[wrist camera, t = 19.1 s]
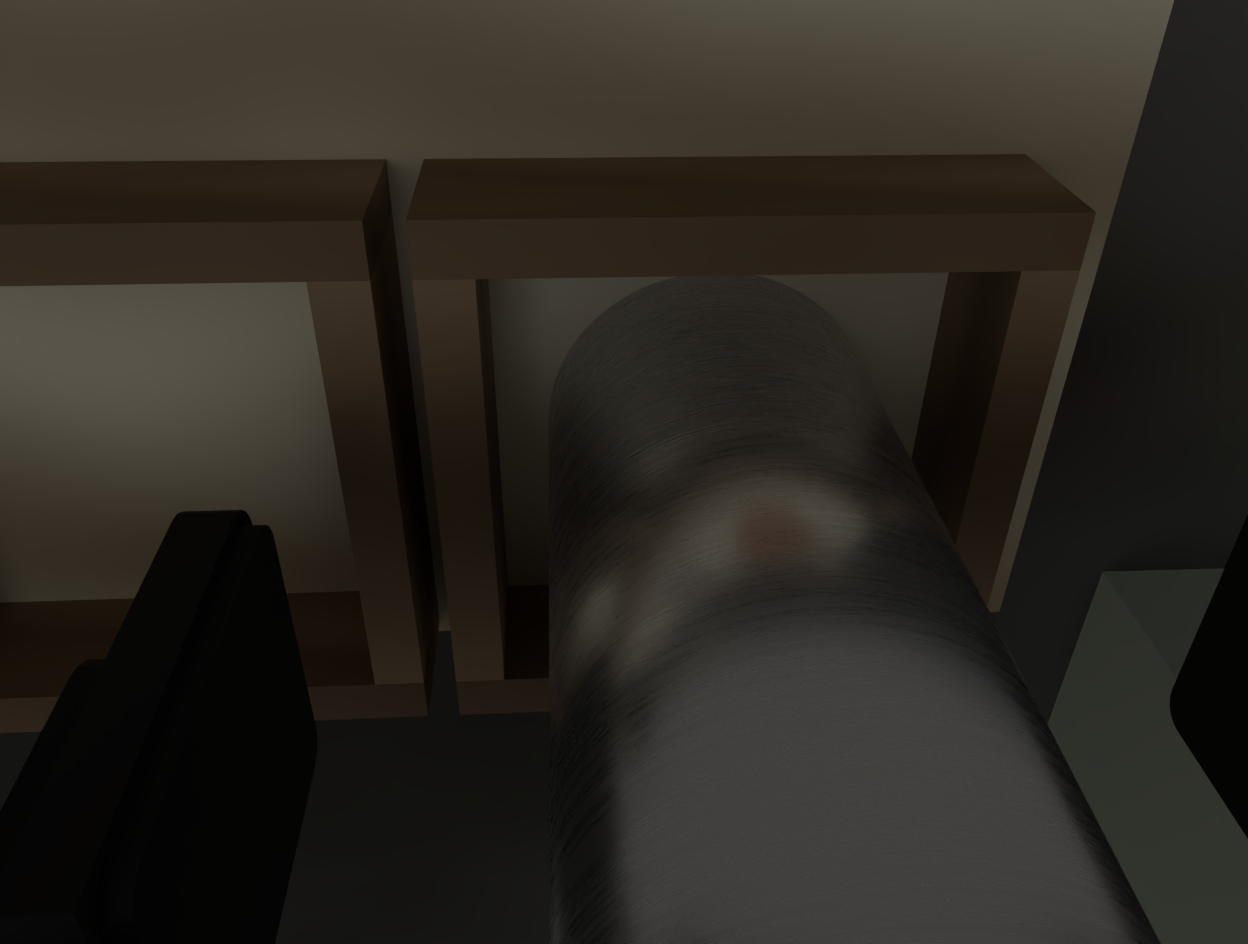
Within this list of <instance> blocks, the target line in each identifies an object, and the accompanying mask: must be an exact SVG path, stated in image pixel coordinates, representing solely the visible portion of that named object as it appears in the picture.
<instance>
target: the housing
mask: <svg viewBox="0 0 1248 944" xmlns="http://www.w3.org/2000/svg"><path fill="white" fill-rule="evenodd" d="M1223 571H1224V569H1185V570H1146V571H1107V572H1102V574H1101V577H1100V580H1099V583H1098V585H1097V588H1096V591H1095V594H1094V596H1093V599H1092V602H1091V605H1090V608H1089V610H1088V613H1087V616H1086V619H1085V621H1084V624H1083V627H1082V630H1081V633H1080V635H1079V638H1078V641H1077V644H1076V646H1075V649H1074V652H1073V655H1072V657H1071V660H1070V663H1069V666H1068V669H1067V671H1066V674H1065V677H1064V680H1063V682H1062V685H1061V688H1060V691H1059V694H1058V696H1057V699H1056V702H1055V705H1054V707H1053V710H1052V713H1051V716H1050V719H1049V721H1048V726H1049V728H1050V730H1051V732H1052V734H1053V736H1054V738H1055V740H1056V742H1057V744H1058V746H1059V748H1060V750H1061V751H1062V753H1063V755H1064V757H1065V759H1066V761H1067V763H1068V765H1069V767H1070V769H1071V771H1072V773H1073V775H1074V777H1075V779H1076V781H1077V782H1078V784H1079V786H1080V788H1081V790H1082V792H1083V794H1084V796H1085V798H1086V800H1087V802H1088V804H1089V806H1090V808H1091V810H1092V812H1093V813H1094V815H1095V817H1096V819H1097V821H1098V823H1099V825H1100V827H1101V829H1102V831H1103V833H1104V835H1105V837H1106V839H1107V841H1108V843H1109V844H1110V846H1111V848H1112V850H1113V852H1114V854H1115V856H1116V858H1117V860H1118V862H1119V864H1120V866H1121V868H1122V870H1123V872H1124V874H1125V875H1126V877H1127V879H1128V881H1129V883H1130V885H1131V887H1132V889H1133V891H1134V893H1135V895H1136V897H1137V899H1138V901H1139V903H1140V905H1141V906H1142V908H1143V910H1144V912H1145V914H1146V916H1147V918H1148V920H1149V922H1150V924H1151V926H1152V928H1153V930H1154V932H1155V934H1156V936H1157V937H1158V939H1159V941H1160V943H1161V944H1248V839H1247V837H1246V835H1245V834H1244V832H1243V831H1242V829H1241V828H1240V826H1239V825H1238V823H1237V822H1236V820H1235V819H1234V817H1233V816H1232V814H1231V812H1230V811H1229V809H1228V808H1227V806H1226V805H1225V803H1224V802H1223V800H1222V799H1221V797H1220V796H1219V794H1218V793H1217V791H1216V789H1215V788H1214V786H1213V785H1212V783H1211V782H1210V780H1209V779H1208V777H1207V776H1206V774H1205V773H1204V771H1203V770H1202V768H1201V766H1200V765H1199V763H1198V762H1197V760H1196V759H1195V757H1194V756H1193V754H1192V753H1191V751H1190V750H1189V748H1188V747H1187V745H1186V743H1185V742H1184V740H1183V739H1182V737H1181V736H1180V734H1179V733H1178V731H1177V729H1176V727H1175V725H1174V723H1173V720H1172V717H1171V713H1170V695H1171V691H1172V688H1173V686H1174V684H1175V681H1176V679H1177V677H1178V675H1179V672H1180V670H1181V668H1182V665H1183V663H1184V661H1185V658H1186V656H1187V654H1188V651H1189V649H1190V647H1191V645H1192V642H1193V640H1194V638H1195V635H1196V633H1197V631H1198V628H1199V626H1200V624H1201V621H1202V619H1203V617H1204V615H1205V612H1206V610H1207V608H1208V605H1209V603H1210V601H1211V598H1212V596H1213V594H1214V591H1215V589H1216V587H1217V585H1218V582H1219V580H1220V578H1221V575H1222V573H1223Z"/></svg>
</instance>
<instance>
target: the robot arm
mask: <svg viewBox="0 0 1248 944" xmlns="http://www.w3.org/2000/svg"><path fill="white" fill-rule="evenodd" d="M1170 713H1171V717H1172V720H1173V723H1174V725H1175V727H1176V729H1177V731H1178V733H1179V734H1180V736H1181V737H1182V739H1183V740H1184V742H1185V743H1186V745H1187V747H1188V748H1189V750H1190V751H1191V753H1192V754H1193V756H1194V757H1195V759H1196V760H1197V762H1198V763H1199V765H1200V766H1201V768H1202V770H1203V771H1204V773H1205V774H1206V776H1207V777H1208V779H1209V780H1210V782H1211V783H1212V785H1213V786H1214V788H1215V789H1216V791H1217V793H1218V794H1219V796H1220V797H1221V799H1222V800H1223V802H1224V803H1225V805H1226V806H1227V808H1228V809H1229V811H1230V812H1231V814H1232V816H1233V817H1234V819H1235V820H1236V822H1237V823H1238V825H1239V826H1240V828H1241V829H1242V831H1243V832H1244V834H1245V835H1246V837H1247V839H1248V515H1247V518H1246V520H1245V522H1244V525H1243V527H1242V529H1241V531H1240V534H1239V536H1238V538H1237V541H1236V543H1235V545H1234V548H1233V550H1232V552H1231V555H1230V557H1229V559H1228V561H1227V564H1226V566H1225V568H1224V571H1223V573H1222V575H1221V578H1220V580H1219V582H1218V585H1217V587H1216V589H1215V591H1214V594H1213V596H1212V598H1211V601H1210V603H1209V605H1208V608H1207V610H1206V612H1205V615H1204V617H1203V619H1202V621H1201V624H1200V626H1199V628H1198V631H1197V633H1196V635H1195V638H1194V640H1193V642H1192V645H1191V647H1190V649H1189V651H1188V654H1187V656H1186V658H1185V661H1184V663H1183V665H1182V668H1181V670H1180V672H1179V675H1178V677H1177V679H1176V681H1175V684H1174V686H1173V688H1172V691H1171V695H1170ZM316 754H317V731H316V724H315V720H314V715H313V711H312V706H311V702H310V697H309V693H308V688H307V684H306V679H305V675H304V670H303V666H302V661H301V657H300V652H299V648H298V643H297V639H296V634H295V630H294V625H293V621H292V616H291V612H290V607H289V603H288V598H287V594H286V589H285V585H284V580H283V576H282V571H281V567H280V562H279V558H278V553H277V549H276V544H275V540H274V536H273V533H272V530H271V529H270V527H269V526H267V525H252V521H251V518H250V517H249V515H248V513H247V512H246V511H244V510H214V511H182V512H180V513H178V514H176V516H175V517H174V519H173V520H172V522H171V524H170V526H169V528H168V530H167V532H166V534H165V536H164V539H163V541H162V543H161V545H160V547H159V549H158V551H157V553H156V555H155V557H154V559H153V561H152V563H151V565H150V567H149V569H148V571H147V574H146V576H145V578H144V580H143V582H142V584H141V586H140V588H139V590H138V592H137V594H136V596H135V598H134V600H133V602H132V604H131V606H130V609H129V611H128V613H127V615H126V617H125V619H124V621H123V623H122V625H121V627H120V629H119V631H118V633H117V635H116V637H115V639H114V641H113V644H112V646H111V648H110V650H109V652H108V654H107V656H106V658H105V659H88V660H86V661H85V662H83V663H82V664H80V665H79V666H77V668H76V669H75V671H74V672H73V674H72V675H71V677H70V678H69V679H68V681H67V683H66V685H65V687H64V689H63V691H62V693H61V695H60V697H59V698H58V700H57V702H56V704H55V706H54V708H53V710H52V712H51V714H50V716H49V718H48V720H47V722H46V724H45V726H44V728H43V730H42V731H41V733H40V735H39V737H38V739H37V741H36V743H35V745H34V747H33V749H32V751H31V753H30V755H29V757H28V759H27V761H26V763H25V765H24V766H23V768H22V770H21V772H20V774H19V776H18V778H17V780H16V782H15V784H14V786H13V788H12V790H11V792H10V794H9V796H8V798H7V799H6V801H5V803H4V805H3V807H2V809H1V811H0V944H275V940H276V936H277V932H278V927H279V923H280V918H281V914H282V909H283V905H284V901H285V896H286V892H287V887H288V883H289V879H290V874H291V870H292V865H293V861H294V856H295V852H296V848H297V843H298V839H299V834H300V830H301V825H302V821H303V817H304V812H305V808H306V803H307V799H308V794H309V790H310V786H311V781H312V777H313V772H314V768H315V762H316Z"/></svg>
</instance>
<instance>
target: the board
mask: <svg viewBox="0 0 1248 944" xmlns="http://www.w3.org/2000/svg"><path fill="white" fill-rule="evenodd" d="M1173 2H1174V0H0V733H17V732H41V731H42V730H43V728H44V726H45V724H46V722H47V720H48V718H49V716H50V714H51V712H52V710H53V708H54V706H55V704H56V702H57V700H58V698H59V697H60V695H61V693H62V691H63V689H64V687H65V685H66V683H67V681H68V679H69V678H70V677H71V675H72V674H73V672H74V671H75V669H76V668H77V666H79V665H80V664H82V663H83V662H85V661H86V660H88V659H105V658H106V656H107V654H108V652H109V650H110V648H111V646H112V644H113V641H114V639H115V637H116V635H117V633H118V631H119V629H120V627H121V625H122V623H123V621H124V619H125V617H126V615H127V613H128V611H129V609H130V606H131V604H132V602H133V600H134V598H135V596H136V594H137V592H138V590H139V588H140V586H141V584H142V582H143V580H144V578H145V576H146V574H147V571H148V569H149V567H150V565H151V563H152V561H153V559H154V557H155V555H156V553H157V551H158V549H159V547H160V545H161V543H162V541H163V539H164V536H165V534H166V532H167V530H168V528H169V526H170V524H171V522H172V520H173V519H174V517H175V516H176V514H178V513H180V512H182V511H214V510H244V511H246V512H247V513H248V515H249V517H250V518H251V521H252V525H267V526H269V527H270V529H271V530H272V533H273V536H274V540H275V544H276V549H277V553H278V558H279V562H280V567H281V571H282V576H283V580H284V585H285V589H286V594H287V598H288V603H289V607H290V612H291V616H292V621H293V625H294V630H295V634H296V639H297V643H298V648H299V652H300V657H301V661H302V666H303V670H304V675H305V679H306V684H307V688H308V693H309V697H310V702H311V706H312V711H313V715H314V720H315V721H321V720H346V719H371V718H397V717H422V716H428V714H429V706H430V697H431V689H432V680H433V672H434V664H435V655H436V647H437V639H438V631H451V640H452V649H453V658H454V668H455V677H456V686H457V695H458V704H459V713H460V715H473V714H498V713H523V712H548V711H549V404H550V399H551V394H552V389H553V385H554V382H555V379H556V376H557V374H558V371H559V368H560V366H561V364H562V362H563V361H564V359H565V357H566V355H567V353H568V351H569V350H570V348H571V347H572V346H573V344H574V343H575V341H576V340H577V339H578V337H579V336H580V334H581V333H582V332H583V331H584V330H585V329H586V328H587V327H588V326H589V325H590V324H591V323H592V322H593V321H594V320H595V319H596V318H597V317H598V316H600V315H601V314H602V313H603V312H604V311H606V310H607V309H608V308H609V307H611V306H612V305H614V304H615V303H617V302H618V301H620V300H622V299H623V298H625V297H626V296H628V295H630V294H631V293H634V292H636V291H638V290H640V289H642V288H644V287H646V286H649V285H651V284H654V283H657V282H660V281H663V280H666V279H669V278H673V277H678V276H738V275H755V276H761V277H764V278H767V279H770V280H773V281H777V282H780V283H782V284H784V285H786V286H789V287H791V288H793V289H795V290H797V291H799V292H801V293H802V294H804V295H805V296H807V297H808V298H810V299H811V300H813V301H814V302H816V303H817V304H818V305H819V306H821V307H822V308H823V309H824V310H825V311H826V312H827V313H828V314H830V315H831V316H832V318H833V319H834V320H835V321H836V323H837V324H838V325H839V326H840V327H841V329H842V330H843V331H844V333H845V335H846V336H847V338H848V340H849V341H850V343H851V345H852V347H853V348H854V350H855V352H856V354H857V356H858V358H859V360H860V362H861V364H862V366H863V368H864V370H865V372H866V374H867V376H868V378H869V379H870V381H871V383H872V385H873V387H874V389H875V391H876V393H877V395H878V397H879V399H880V401H881V403H882V405H883V407H884V409H885V410H886V412H887V414H888V416H889V418H890V420H891V422H892V424H893V426H894V428H895V430H896V432H897V434H898V436H899V438H900V440H901V441H902V443H903V445H904V447H905V449H906V451H907V453H908V455H909V457H910V459H911V461H912V463H913V465H914V467H915V469H916V471H917V472H918V474H919V476H920V478H921V480H922V482H923V484H924V486H925V488H926V490H927V492H928V494H929V496H930V498H931V500H932V502H933V503H934V505H935V507H936V509H937V511H938V513H939V515H940V517H941V519H942V521H943V523H944V525H945V527H946V529H947V531H948V533H949V534H950V536H951V538H952V540H953V542H954V544H955V546H956V548H957V550H958V552H959V554H960V556H961V558H962V560H963V562H964V564H965V565H966V567H967V569H968V571H969V573H970V575H971V577H972V579H973V581H974V583H975V585H976V587H977V589H978V591H979V593H980V595H981V596H982V598H983V600H984V602H985V604H986V606H987V608H988V610H989V612H1000V608H1001V605H1002V601H1003V598H1004V594H1005V591H1006V587H1007V584H1008V580H1009V577H1010V573H1011V570H1012V566H1013V563H1014V559H1015V556H1016V552H1017V549H1018V545H1019V542H1020V538H1021V535H1022V531H1023V528H1024V524H1025V521H1026V517H1027V514H1028V510H1029V507H1030V503H1031V500H1032V496H1033V493H1034V489H1035V486H1036V482H1037V479H1038V475H1039V472H1040V468H1041V465H1042V461H1043V458H1044V454H1045V451H1046V447H1047V444H1048V440H1049V437H1050V433H1051V430H1052V426H1053V423H1054V419H1055V416H1056V412H1057V409H1058V405H1059V402H1060V398H1061V395H1062V391H1063V388H1064V384H1065V381H1066V377H1067V374H1068V370H1069V367H1070V363H1071V360H1072V356H1073V353H1074V349H1075V346H1076V342H1077V339H1078V335H1079V332H1080V328H1081V325H1082V321H1083V318H1084V314H1085V311H1086V307H1087V304H1088V300H1089V297H1090V293H1091V290H1092V286H1093V283H1094V279H1095V276H1096V272H1097V269H1098V265H1099V262H1100V258H1101V255H1102V251H1103V248H1104V244H1105V241H1106V237H1107V234H1108V230H1109V227H1110V223H1111V220H1112V216H1113V213H1114V209H1115V206H1116V202H1117V199H1118V195H1119V192H1120V188H1121V185H1122V181H1123V178H1124V174H1125V171H1126V167H1127V164H1128V160H1129V157H1130V153H1131V150H1132V146H1133V143H1134V139H1135V136H1136V132H1137V129H1138V125H1139V122H1140V118H1141V115H1142V111H1143V107H1144V104H1145V100H1146V97H1147V94H1148V90H1149V86H1150V83H1151V79H1152V76H1153V72H1154V69H1155V65H1156V62H1157V58H1158V55H1159V51H1160V48H1161V44H1162V41H1163V37H1164V34H1165V30H1166V27H1167V23H1168V20H1169V16H1170V13H1171V9H1172V6H1173Z"/></svg>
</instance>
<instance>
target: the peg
mask: <svg viewBox="0 0 1248 944" xmlns="http://www.w3.org/2000/svg"><path fill="white" fill-rule="evenodd" d="M549 830H550V944H1161V943H1160V941H1159V939H1158V937H1157V936H1156V934H1155V932H1154V930H1153V928H1152V926H1151V924H1150V922H1149V920H1148V918H1147V916H1146V914H1145V912H1144V910H1143V908H1142V906H1141V905H1140V903H1139V901H1138V899H1137V897H1136V895H1135V893H1134V891H1133V889H1132V887H1131V885H1130V883H1129V881H1128V879H1127V877H1126V875H1125V874H1124V872H1123V870H1122V868H1121V866H1120V864H1119V862H1118V860H1117V858H1116V856H1115V854H1114V852H1113V850H1112V848H1111V846H1110V844H1109V843H1108V841H1107V839H1106V837H1105V835H1104V833H1103V831H1102V829H1101V827H1100V825H1099V823H1098V821H1097V819H1096V817H1095V815H1094V813H1093V812H1092V810H1091V808H1090V806H1089V804H1088V802H1087V800H1086V798H1085V796H1084V794H1083V792H1082V790H1081V788H1080V786H1079V784H1078V782H1077V781H1076V779H1075V777H1074V775H1073V773H1072V771H1071V769H1070V767H1069V765H1068V763H1067V761H1066V759H1065V757H1064V755H1063V753H1062V751H1061V750H1060V748H1059V746H1058V744H1057V742H1056V740H1055V738H1054V736H1053V734H1052V732H1051V730H1050V728H1049V726H1048V724H1047V722H1046V720H1045V719H1044V717H1043V715H1042V713H1041V711H1040V709H1039V707H1038V705H1037V703H1036V701H1035V699H1034V697H1033V695H1032V693H1031V691H1030V689H1029V688H1028V686H1027V684H1026V682H1025V680H1024V678H1023V676H1022V674H1021V672H1020V670H1019V668H1018V666H1017V664H1016V662H1015V660H1014V658H1013V657H1012V655H1011V653H1010V651H1009V649H1008V647H1007V645H1006V643H1005V641H1004V639H1003V637H1002V635H1001V633H1000V631H999V629H998V627H997V626H996V624H995V622H994V620H993V618H992V616H991V614H990V612H989V610H988V608H987V606H986V604H985V602H984V600H983V598H982V596H981V595H980V593H979V591H978V589H977V587H976V585H975V583H974V581H973V579H972V577H971V575H970V573H969V571H968V569H967V567H966V565H965V564H964V562H963V560H962V558H961V556H960V554H959V552H958V550H957V548H956V546H955V544H954V542H953V540H952V538H951V536H950V534H949V533H948V531H947V529H946V527H945V525H944V523H943V521H942V519H941V517H940V515H939V513H938V511H937V509H936V507H935V505H934V503H933V502H932V500H931V498H930V496H929V494H928V492H927V490H926V488H925V486H924V484H923V482H922V480H921V478H920V476H919V474H918V472H917V471H916V469H915V467H914V465H913V463H912V461H911V459H910V457H909V455H908V453H907V451H906V449H905V447H904V445H903V443H902V441H901V440H900V438H899V436H898V434H897V432H896V430H895V428H894V426H893V424H892V422H891V420H890V418H889V416H888V414H887V412H886V410H885V409H884V407H883V405H882V403H881V401H880V399H879V397H878V395H877V393H876V391H875V389H874V387H873V385H872V383H871V381H870V379H869V378H868V376H867V374H866V372H865V370H864V368H863V366H862V364H861V362H860V360H859V358H858V356H857V354H856V352H855V350H854V348H853V347H852V345H851V343H850V341H849V340H848V338H847V336H846V335H845V333H844V331H843V330H842V329H841V327H840V326H839V325H838V324H837V323H836V321H835V320H834V319H833V318H832V316H831V315H830V314H828V313H827V312H826V311H825V310H824V309H823V308H822V307H821V306H819V305H818V304H817V303H816V302H814V301H813V300H811V299H810V298H808V297H807V296H805V295H804V294H802V293H801V292H799V291H797V290H795V289H793V288H791V287H789V286H786V285H784V284H782V283H780V282H777V281H773V280H770V279H767V278H764V277H761V276H755V275H738V276H678V277H673V278H669V279H666V280H663V281H660V282H657V283H654V284H651V285H649V286H646V287H644V288H642V289H640V290H638V291H636V292H634V293H631V294H630V295H628V296H626V297H625V298H623V299H622V300H620V301H618V302H617V303H615V304H614V305H612V306H611V307H609V308H608V309H607V310H606V311H604V312H603V313H602V314H601V315H600V316H598V317H597V318H596V319H595V320H594V321H593V322H592V323H591V324H590V325H589V326H588V327H587V328H586V329H585V330H584V331H583V332H582V333H581V334H580V336H579V337H578V339H577V340H576V341H575V343H574V344H573V346H572V347H571V348H570V350H569V351H568V353H567V355H566V357H565V359H564V361H563V362H562V364H561V366H560V368H559V371H558V374H557V376H556V379H555V382H554V385H553V389H552V394H551V399H550V404H549Z"/></svg>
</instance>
